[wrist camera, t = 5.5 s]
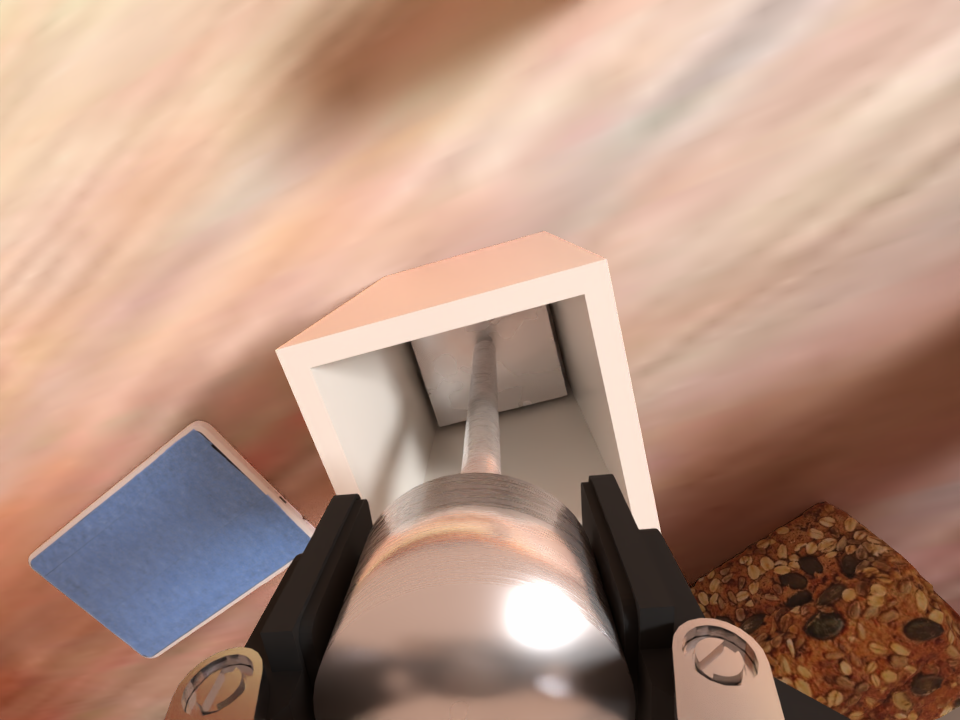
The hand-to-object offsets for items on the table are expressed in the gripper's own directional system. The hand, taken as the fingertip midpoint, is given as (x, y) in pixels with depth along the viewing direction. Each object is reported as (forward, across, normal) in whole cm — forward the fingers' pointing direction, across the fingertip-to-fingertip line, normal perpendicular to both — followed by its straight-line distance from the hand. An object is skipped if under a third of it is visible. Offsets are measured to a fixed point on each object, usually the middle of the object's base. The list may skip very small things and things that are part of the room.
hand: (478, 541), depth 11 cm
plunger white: (+17, 0, 0) cm, 17 cm away
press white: (+20, 0, 0) cm, 20 cm away
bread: (+21, -18, +23) cm, 36 cm away
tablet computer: (+21, +25, +14) cm, 35 cm away
